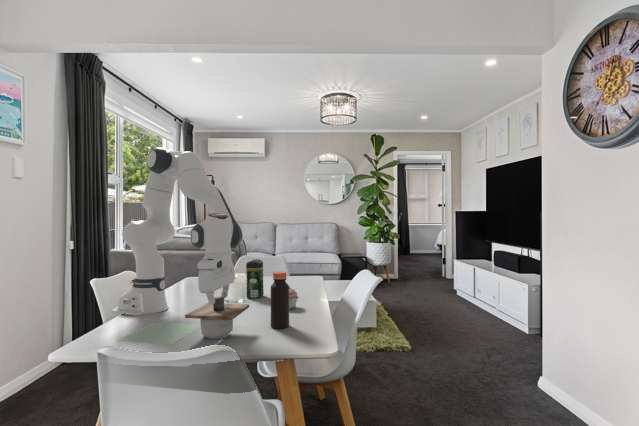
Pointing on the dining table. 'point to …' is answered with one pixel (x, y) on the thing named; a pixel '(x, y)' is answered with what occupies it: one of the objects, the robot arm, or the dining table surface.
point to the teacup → (216, 328)
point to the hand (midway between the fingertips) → (218, 300)
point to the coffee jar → (254, 279)
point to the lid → (218, 310)
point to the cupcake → (292, 298)
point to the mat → (161, 333)
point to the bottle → (279, 301)
